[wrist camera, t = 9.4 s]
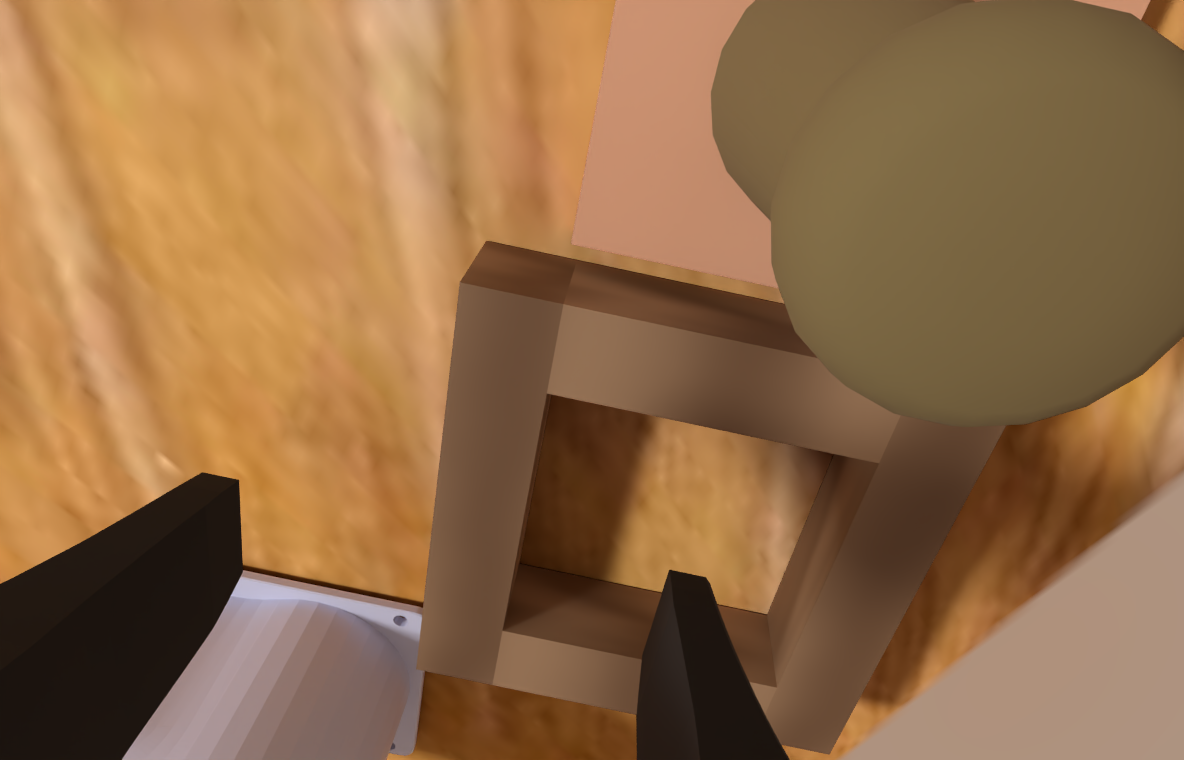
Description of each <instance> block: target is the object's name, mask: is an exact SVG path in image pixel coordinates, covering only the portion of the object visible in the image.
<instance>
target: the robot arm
mask: <svg viewBox="0 0 1184 760" xmlns="http://www.w3.org/2000/svg"><path fill="white" fill-rule="evenodd" d="M422 613H423V608H421V607H419V606H414V605H409V604H404V603H399V602H394V601H390V600H385V599H380V598H375V597H370V596H365V595H361V594H356V593H351V592H346V591H341V590H336V589H332V588H327V587H322V586H317V585H312V584H308V583H303V582H298V581H293V580H288V579H283V578H279V577H274V576H269V575H264V574H259V573H254V572H250V571H245V570H243V563H242V539H241V516H240V492H239V480H236V479H232V478H227V477H222V476H217V475H212V474H208V473H203V472H202V473H201V474H199V475H197V476H195V477H193V478H192V479H190V480H188V481H186V482H185V483H183V484H181V485H179V486H178V487H176V488H174V489H173V490H171V491H169V492H167V493H166V494H164V495H162V496H161V497H159V498H157V499H156V500H154V501H152V502H151V503H149V504H147V505H145V506H144V507H142V508H140V509H139V510H137V511H135V512H134V513H132V514H130V515H128V516H127V517H125V518H123V519H121V520H120V521H118V522H116V523H114V524H113V525H111V526H109V527H107V528H106V529H104V530H102V531H100V532H99V533H97V534H95V535H93V536H92V537H90V538H88V539H86V540H85V541H83V542H81V543H79V544H77V545H75V546H73V547H71V548H70V549H68V550H66V551H64V552H62V553H60V554H58V555H56V556H54V557H52V558H50V559H48V560H46V561H44V562H43V563H41V564H39V565H37V566H35V567H33V568H31V569H29V570H27V571H25V572H23V573H21V574H19V575H18V576H16V577H14V578H12V579H10V580H8V581H5V582H3V583H1V584H0V760H387V757H388V754H389V753H392V754H397V755H409V754H411V753H412V752H413V751H414V748H415V745H416V740H417V732H418V724H419V716H420V707H421V699H422V691H423V683H424V674H425V671H422V670H417V669H416V666H417V657H418V648H419V639H420V630H421V622H422ZM400 616H403V617H405V618H402V617H400ZM636 721H637V760H789V758H788V756H787V754H786V753H785V751H784V749H783V747H782V745H781V744H780V742H779V740H778V738H777V736H776V734H775V732H774V730H773V729H772V727H771V725H770V723H769V721H768V719H767V717H766V715H765V713H764V711H763V709H762V707H761V705H760V703H759V701H758V699H757V697H756V695H755V693H754V691H753V689H752V686H751V684H750V682H749V680H748V678H747V676H746V673H745V671H744V669H743V667H742V665H741V663H740V660H739V658H738V656H737V653H736V651H735V649H734V646H733V644H732V641H731V639H730V637H729V634H728V632H727V629H726V627H725V624H724V621H723V619H722V616H721V614H720V611H719V608H718V605H717V603H716V600H715V597H714V594H713V591H712V588H711V585H710V583H709V582H708V580H707V579H706V577H702V576H697V575H692V574H687V573H683V572H678V571H673V570H669V573H668V576H667V579H666V582H665V585H664V588H663V591H662V595H661V598H660V601H659V604H658V607H657V610H656V613H655V617H654V620H653V623H652V626H651V629H650V632H649V635H648V639H647V642H646V645H645V648H644V651H643V654H642V663H641V672H640V682H639V692H638V703H637V714H636Z"/></svg>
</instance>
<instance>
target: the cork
mask: <svg viewBox="0 0 1184 760" xmlns="http://www.w3.org/2000/svg"><path fill="white" fill-rule="evenodd" d="M711 110H712V132H713V137H714V140H715V142H716V145H717V147H718V150H719V153H720V155H721V158H722V161H723V163H724V166H725V168H726V171H727V172H728V174H729V175H730V176H731V177H732V178H733V180H734V181H735V182H736V183H737V184H738V186H739V187H740V188H741V189H742V190H743V192H744V193H745V194H746V195H747V196H748V198H749V199H750V200H751V201H752V202H753V203H754V204H755V205H756V206H757V208H758V209H759V210H760V211H761V212H762V213H763V214H764V215H765V216H766V217H767V218H768V219H769V220H770V221H771V264H772V268H773V272H774V275H775V279H776V282H777V285H778V287H779V290H780V293H781V295H782V298H783V301H784V303H785V306H786V309H787V311H788V314H789V317H790V319H791V322H792V325H793V327H794V330H795V332H796V334H797V335H798V336H799V337H800V338H801V339H802V340H803V342H804V343H805V344H806V345H807V346H808V347H809V349H810V350H811V351H812V352H813V353H814V354H815V355H816V357H817V358H818V359H819V360H820V361H821V362H822V363H823V365H824V366H825V367H826V368H827V369H828V370H829V372H830V373H831V374H832V375H834V376H835V377H836V378H837V379H838V380H839V381H840V382H841V383H843V384H844V385H845V386H846V387H848V388H850V389H851V390H853V391H855V392H857V393H858V394H860V395H862V396H864V397H865V398H867V399H869V400H871V401H872V402H874V403H876V404H878V405H880V406H881V407H883V408H885V409H887V410H888V411H890V412H892V413H894V414H898V415H903V416H907V417H912V418H916V419H921V420H926V421H930V422H935V423H939V424H944V425H948V426H958V427H981V426H1001V425H1021V424H1029V423H1032V422H1036V421H1039V420H1042V419H1046V418H1049V417H1052V416H1056V415H1059V414H1063V413H1066V412H1069V411H1073V410H1076V409H1079V408H1083V407H1086V406H1088V405H1090V404H1091V403H1093V402H1095V401H1097V400H1098V399H1100V398H1102V397H1104V396H1106V395H1107V394H1109V393H1111V392H1113V391H1114V390H1116V389H1118V388H1120V387H1121V386H1123V385H1125V384H1127V383H1129V382H1130V381H1132V380H1134V379H1136V378H1137V377H1139V376H1141V375H1143V374H1144V373H1145V372H1146V371H1147V370H1148V369H1149V368H1150V367H1151V366H1152V365H1153V364H1154V363H1156V362H1157V361H1158V360H1159V359H1160V358H1161V357H1162V356H1163V355H1164V354H1165V353H1166V352H1167V351H1169V350H1170V349H1171V348H1172V347H1173V346H1174V345H1175V344H1176V343H1177V342H1178V341H1179V340H1180V339H1182V338H1183V337H1184V51H1183V50H1182V49H1180V48H1179V47H1178V46H1176V45H1175V44H1173V43H1172V42H1171V41H1169V40H1168V39H1166V38H1165V37H1164V36H1162V35H1161V34H1159V33H1158V32H1157V31H1155V30H1154V29H1153V28H1151V27H1150V26H1148V25H1147V24H1146V23H1144V22H1143V21H1141V20H1140V19H1139V18H1137V17H1136V16H1134V15H1133V14H1131V13H1127V12H1123V11H1118V10H1114V9H1109V8H1105V7H1101V6H1096V5H1092V4H1087V3H1083V2H1079V1H1074V0H988V1H980V2H975V1H973V0H755V1H754V2H753V3H752V4H751V5H750V6H749V7H748V8H747V9H746V10H745V12H744V13H743V15H742V17H741V18H740V20H739V22H738V23H737V25H736V27H735V28H734V30H733V32H732V33H731V35H730V37H729V38H728V40H727V42H726V43H725V45H724V47H723V48H722V51H721V55H720V59H719V62H718V66H717V70H716V74H715V78H714V82H713V86H712V90H711Z"/></svg>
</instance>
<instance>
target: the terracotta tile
mask: <svg viewBox="0 0 1184 760" xmlns="http://www.w3.org/2000/svg"><path fill="white" fill-rule="evenodd" d="M754 1H755V0H616V2H615V8H614V13H613V18H612V24H611V29H610V35H609V40H608V46H607V51H606V57H605V62H604V67H603V73H602V78H601V84H600V89H599V95H598V100H597V105H596V111H595V116H594V122H593V127H592V133H591V138H590V143H589V149H588V154H587V160H586V165H585V171H584V176H583V181H582V187H581V192H580V198H579V203H578V209H577V214H576V219H575V225H574V230H573V236H572V241H571V244H573V245H577V246H582V247H587V248H591V249H596V250H601V251H605V252H610V253H615V254H620V255H624V256H629V257H634V258H638V259H643V260H648V261H652V262H657V263H662V264H667V265H671V266H676V267H681V268H685V269H690V270H695V271H699V272H704V273H709V274H713V275H718V276H723V277H728V278H732V279H737V280H742V281H746V282H751V283H756V284H760V285H765V286H770V287H775V288H779V287H778V285H777V282H776V279H775V275H774V272H773V268H772V264H771V221H770V220H769V219H768V218H767V217H766V216H765V215H764V214H763V213H762V212H761V211H760V210H759V209H758V208H757V206H756V205H755V204H754V203H753V202H752V201H751V200H750V199H749V198H748V196H747V195H746V194H745V193H744V192H743V190H742V189H741V188H740V187H739V186H738V184H737V183H736V182H735V181H734V180H733V178H732V177H731V176H730V175H729V174H728V172H727V171H726V168H725V166H724V163H723V161H722V158H721V155H720V153H719V150H718V147H717V145H716V142H715V140H714V137H713V132H712V110H711V90H712V86H713V82H714V78H715V74H716V70H717V66H718V62H719V59H720V55H721V51H722V48H723V47H724V45H725V43H726V42H727V40H728V38H729V37H730V35H731V33H732V32H733V30H734V28H735V27H736V25H737V23H738V22H739V20H740V18H741V17H742V15H743V13H744V12H745V10H746V9H747V8H748V7H749V6H750V5H751V4H752V3H753V2H754ZM973 1H975V2H980V1H988V0H973ZM1074 1H1079V2H1083V3H1087V4H1092V5H1096V6H1101V7H1105V8H1109V9H1114V10H1118V11H1123V12H1127V13H1131V14H1133V15H1134V16H1136V17H1137V18H1139V19H1140V20H1141V19H1142V17H1143V15H1144V13H1145V11H1146V8H1147V6H1148V4H1149V2H1150V0H1074Z"/></svg>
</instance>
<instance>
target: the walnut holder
mask: <svg viewBox="0 0 1184 760" xmlns="http://www.w3.org/2000/svg"><path fill="white" fill-rule="evenodd" d="M551 395H557V396H561V397H566V398H571V399H576V400H580V401H585V402H590V403H595V404H599V405H604V406H609V407H614V408H618V409H623V410H628V411H633V412H637V413H642V414H647V415H652V416H656V417H661V418H666V419H671V420H675V421H680V422H685V423H690V424H694V425H699V426H704V427H709V428H713V429H718V430H723V431H728V432H732V433H737V434H742V435H747V436H751V437H756V438H761V439H766V440H770V441H775V442H780V443H785V444H789V445H794V446H799V447H804V448H808V449H813V450H818V451H822V452H827V453H832V454H834V456H833V458H832V461H831V463H830V465H829V468H828V470H827V473H826V475H825V477H824V480H823V482H822V485H821V487H820V489H819V492H818V494H817V497H816V499H815V501H814V504H813V506H812V509H811V511H810V513H809V516H808V518H807V521H806V523H805V525H804V528H803V530H802V533H801V535H800V537H799V540H798V542H797V545H796V547H795V549H794V552H793V554H792V557H791V559H790V561H789V564H788V566H787V569H786V571H785V573H784V576H783V578H782V581H781V583H780V585H779V588H778V590H777V593H776V595H775V597H774V600H773V602H772V605H771V607H770V609H769V612H768V614H767V615H764V614H759V613H754V612H749V611H744V610H740V609H735V608H730V607H725V606H720V605H718V608H719V611H720V614H721V616H722V619H723V621H724V624H725V627H726V629H727V632H728V634H729V637H730V639H731V641H732V644H733V646H734V649H735V651H736V653H737V656H738V658H739V660H740V663H741V665H742V667H743V669H744V671H745V673H746V676H747V678H748V680H749V682H750V684H751V686H752V689H753V691H754V693H755V695H756V697H757V699H758V701H759V703H760V705H761V707H762V709H763V711H764V713H765V715H766V717H767V719H768V721H769V723H770V725H771V727H772V729H773V730H774V732H775V734H776V736H777V738H778V740H779V742H780V744H781V745H786V746H790V747H795V748H800V749H805V750H810V751H815V752H820V753H824V754H830V752H831V751H832V749H833V747H834V745H835V743H836V741H837V739H838V738H839V736H840V734H841V732H842V730H843V728H844V726H845V724H846V723H847V721H848V719H849V717H850V715H851V713H852V711H853V710H854V708H855V706H856V704H857V702H858V700H859V698H860V697H861V695H862V693H863V691H864V689H865V687H866V685H867V684H868V682H869V680H870V678H871V676H872V674H873V672H874V671H875V669H876V667H877V665H878V663H879V661H880V659H881V657H882V656H883V654H884V652H885V650H886V648H887V646H888V644H889V643H890V641H891V639H892V637H893V635H894V633H895V631H896V630H897V628H898V626H899V624H900V622H901V620H902V618H903V617H904V615H905V613H906V611H907V609H908V607H909V605H910V604H911V602H912V600H913V598H914V596H915V594H916V592H917V590H918V589H919V587H920V585H921V583H922V581H923V579H924V577H925V576H926V574H927V572H928V570H929V568H930V566H931V564H932V563H933V561H934V559H935V557H936V555H937V553H938V551H939V550H940V548H941V546H942V544H943V542H944V540H945V538H946V537H947V535H948V533H949V531H950V529H951V527H952V525H953V524H954V522H955V520H956V518H957V516H958V514H959V512H960V510H961V509H962V507H963V505H964V503H965V501H966V499H967V497H968V496H969V494H970V492H971V490H972V488H973V486H974V484H975V483H976V481H977V479H978V477H979V475H980V473H981V471H982V470H983V468H984V466H985V464H986V462H987V460H988V458H989V457H990V455H991V453H992V451H993V449H994V447H995V445H996V443H997V442H998V440H999V438H1000V436H1001V434H1002V432H1003V430H1004V429H1005V427H1006V425H1001V426H981V427H958V426H948V425H944V424H939V423H935V422H930V421H926V420H921V419H916V418H912V417H907V416H903V415H898V414H894V413H892V412H890V411H888V410H887V409H885V408H883V407H881V406H880V405H878V404H876V403H874V402H872V401H871V400H869V399H867V398H865V397H864V396H862V395H860V394H858V393H857V392H855V391H853V390H851V389H850V388H848V387H846V386H845V385H844V384H843V383H841V382H840V381H839V380H838V379H837V378H836V377H835V376H834V375H832V374H831V373H830V372H829V370H828V369H827V368H826V367H825V366H824V365H823V363H822V362H821V361H820V360H819V359H818V358H817V357H816V355H815V354H814V353H813V352H812V351H811V350H810V349H809V347H808V346H807V345H806V344H805V343H804V342H803V340H802V339H801V338H800V337H799V336H798V335H797V334H796V332H795V330H794V327H793V325H792V322H791V319H790V317H789V314H788V311H787V309H786V306H785V304H781V303H776V302H771V301H767V300H762V299H757V298H752V297H748V296H743V295H738V294H734V293H729V292H724V291H720V290H715V289H710V288H705V287H701V286H696V285H691V284H687V283H682V282H677V281H673V280H668V279H663V278H658V277H654V276H649V275H644V274H640V273H635V272H630V271H626V270H621V269H616V268H611V267H607V266H602V265H597V264H593V263H588V262H583V261H579V260H574V259H569V258H564V257H560V256H555V255H550V254H546V253H541V252H536V251H532V250H527V249H522V248H517V247H513V246H508V245H503V244H499V243H494V242H489V241H486V242H485V244H484V245H483V247H482V249H481V250H480V252H479V253H478V255H477V256H476V258H475V260H474V261H473V263H472V264H471V266H470V267H469V269H468V271H467V272H466V274H465V275H464V277H463V278H462V280H461V281H460V286H459V295H458V304H457V313H456V322H455V330H454V339H453V348H452V357H451V366H450V375H449V383H448V392H447V401H446V410H445V419H444V427H443V436H442V445H441V454H440V463H439V472H438V480H437V489H436V498H435V507H434V516H433V524H432V533H431V542H430V551H429V560H428V569H427V577H426V586H425V595H424V604H423V613H422V622H421V630H420V639H419V648H418V657H417V666H416V669H417V670H422V671H427V672H432V673H437V674H441V675H446V676H451V677H456V678H461V679H466V680H470V681H475V682H480V683H485V684H490V685H495V686H500V687H504V688H509V689H514V690H519V691H524V692H529V693H533V694H538V695H543V696H548V697H553V698H558V699H563V700H567V701H572V702H577V703H582V704H587V705H592V706H597V707H601V708H606V709H611V710H616V711H621V712H626V713H630V714H635V715H636V714H637V703H638V692H639V682H640V672H641V663H642V654H643V651H644V648H645V645H646V642H647V639H648V635H649V632H650V629H651V626H652V623H653V620H654V617H655V613H656V610H657V607H658V604H659V601H660V598H661V595H662V593H658V592H653V591H648V590H643V589H639V588H634V587H629V586H624V585H619V584H615V583H610V582H605V581H600V580H595V579H591V578H586V577H581V576H576V575H571V574H567V573H562V572H557V571H552V570H547V569H543V568H538V567H533V566H528V565H523V564H519V563H520V558H521V553H522V547H523V542H524V537H525V532H526V526H527V521H528V516H529V511H530V505H531V500H532V495H533V490H534V484H535V479H536V474H537V469H538V463H539V458H540V453H541V448H542V442H543V437H544V432H545V426H546V421H547V416H548V411H549V405H550V400H551Z"/></svg>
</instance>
